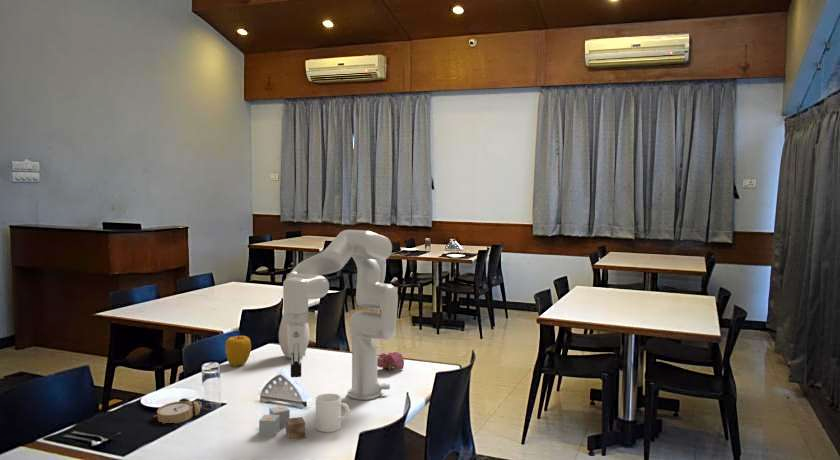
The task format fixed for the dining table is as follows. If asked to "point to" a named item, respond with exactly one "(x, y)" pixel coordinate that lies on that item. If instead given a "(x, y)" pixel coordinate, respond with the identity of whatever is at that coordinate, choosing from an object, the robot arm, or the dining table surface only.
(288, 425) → the plain block
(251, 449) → the dining table surface
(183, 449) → the dining table surface
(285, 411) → the block two
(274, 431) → the block one
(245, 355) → the apple
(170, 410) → the alarm clock
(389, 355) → the flower
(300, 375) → the robot arm
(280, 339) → the vase
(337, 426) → the mug
